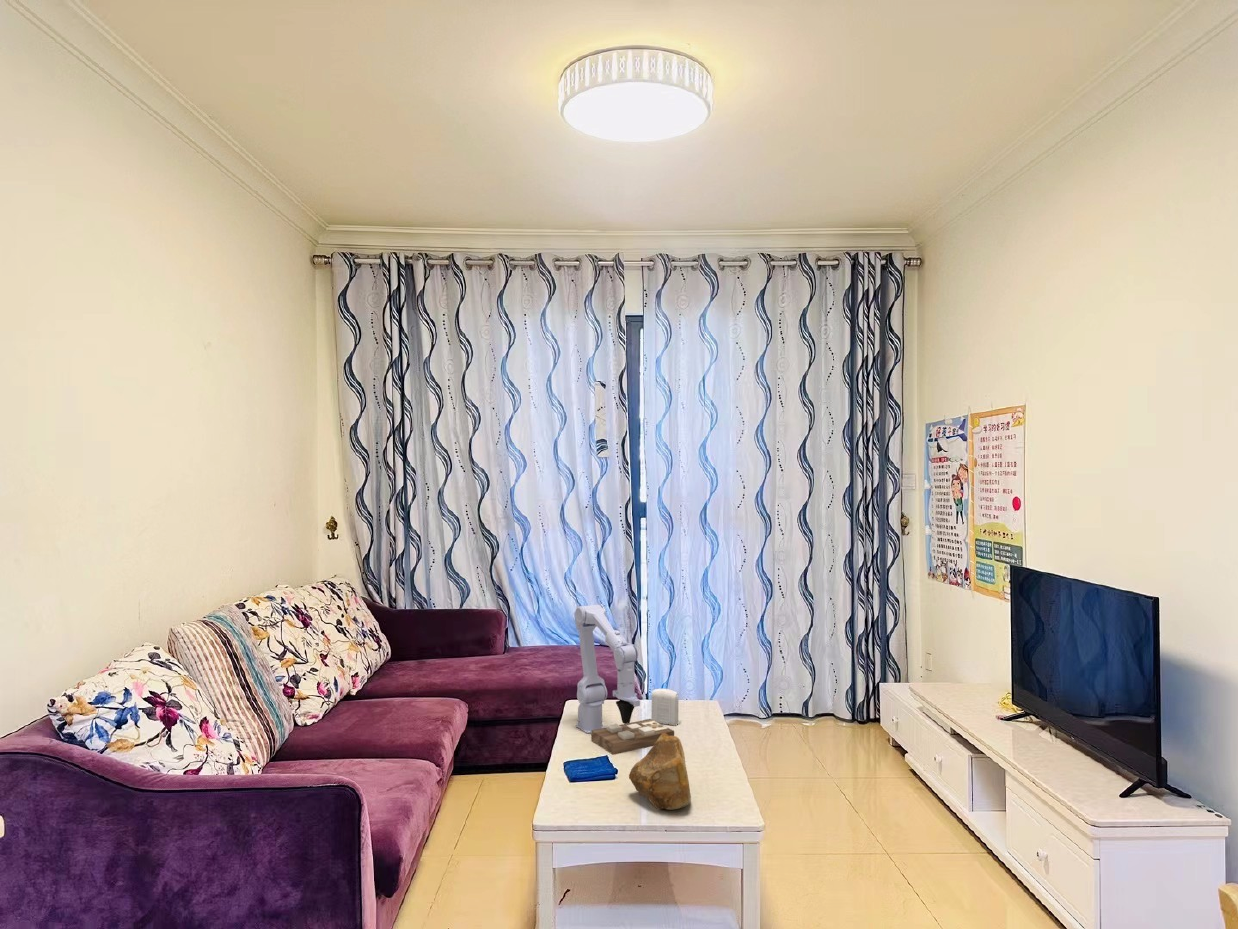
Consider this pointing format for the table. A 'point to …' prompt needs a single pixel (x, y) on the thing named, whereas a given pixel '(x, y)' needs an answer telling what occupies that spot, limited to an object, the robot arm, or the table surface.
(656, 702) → the photo printer
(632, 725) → the button
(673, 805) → the rough brown rock
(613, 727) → the button
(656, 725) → the button board
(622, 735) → the button
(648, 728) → the button
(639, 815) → the table surface
